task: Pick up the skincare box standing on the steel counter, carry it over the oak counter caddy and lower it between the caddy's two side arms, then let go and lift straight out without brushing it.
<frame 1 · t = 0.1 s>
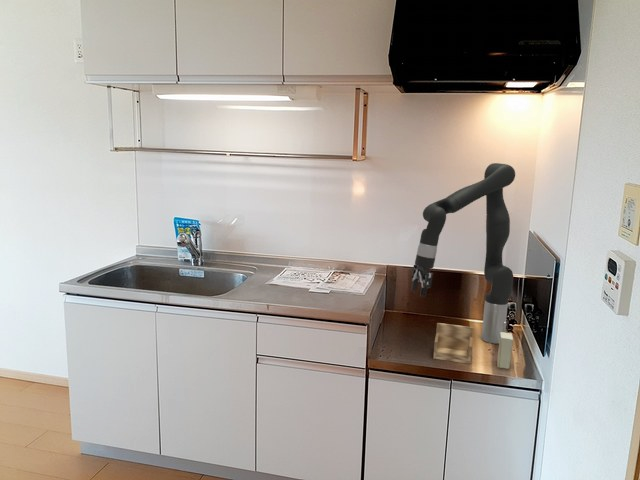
hand: (418, 293, 204), 22 cm above the worktop, tool pointing down, fingers open, 8 cm apart
caddy: (452, 355, 199), on the worktop
skincare box: (503, 365, 192), on the worktop
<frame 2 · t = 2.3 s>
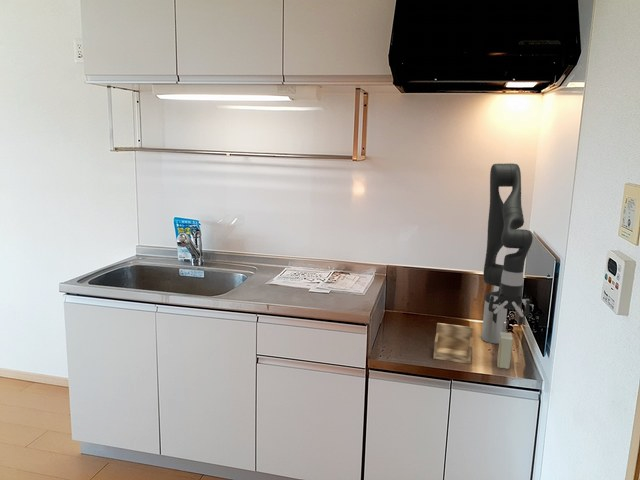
hand: (506, 323, 189), 17 cm above the worktop, tool pointing down, fingers open, 8 cm apart
nothing on the worktop moved.
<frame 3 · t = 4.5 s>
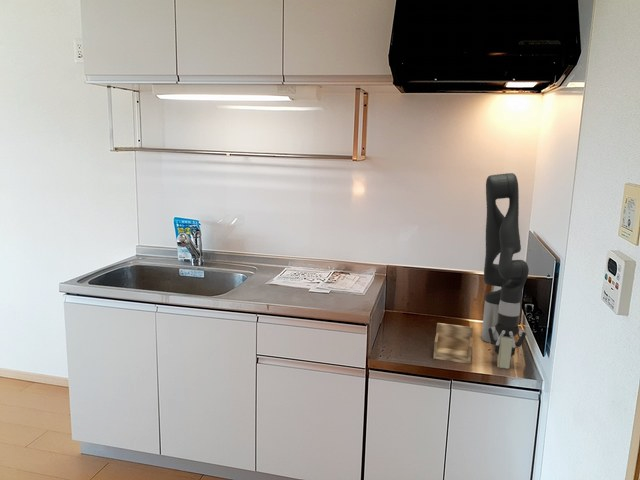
hand: (504, 354, 191), 4 cm above the worktop, tool pointing down, fingers closed on skincare box, 4 cm apart
skincare box: (503, 365, 192), on the worktop, touching gripper
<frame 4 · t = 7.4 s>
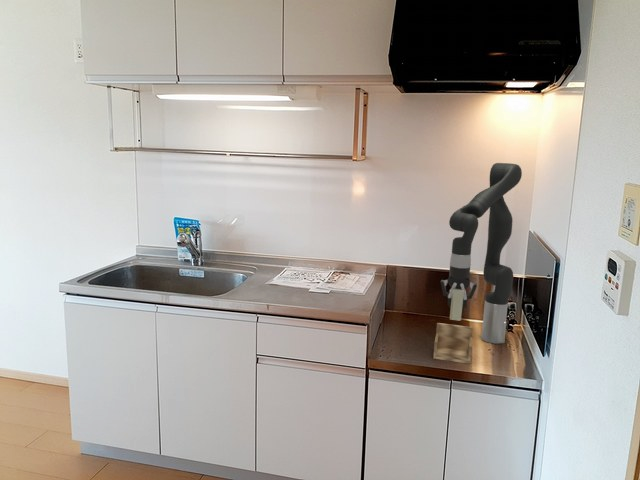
hand: (456, 307, 195), 20 cm above the worktop, tool pointing down, fingers closed on skincare box, 4 cm apart
skincare box: (455, 318, 196), point 16 cm above the worktop, touching gripper
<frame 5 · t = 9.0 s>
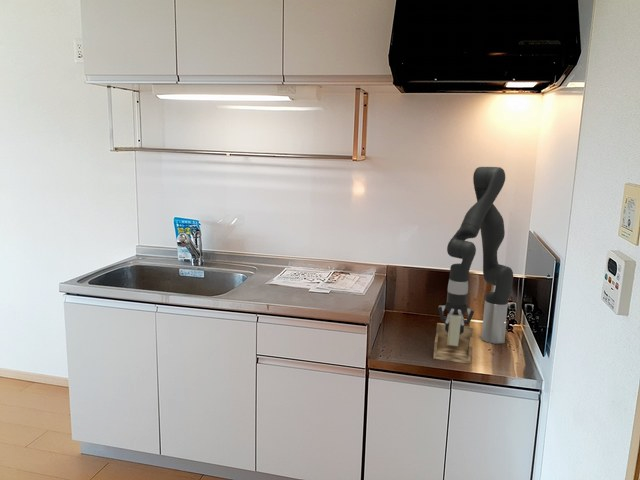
hand: (453, 332, 197), 10 cm above the worktop, tool pointing down, fingers closed on skincare box, 4 cm apart
skincare box: (453, 343, 198), point 5 cm above the worktop, touching gripper
when the fingers open (7 cm above the worktop, at t = 10.5 s): skincare box drops 1 cm, resting on caddy.
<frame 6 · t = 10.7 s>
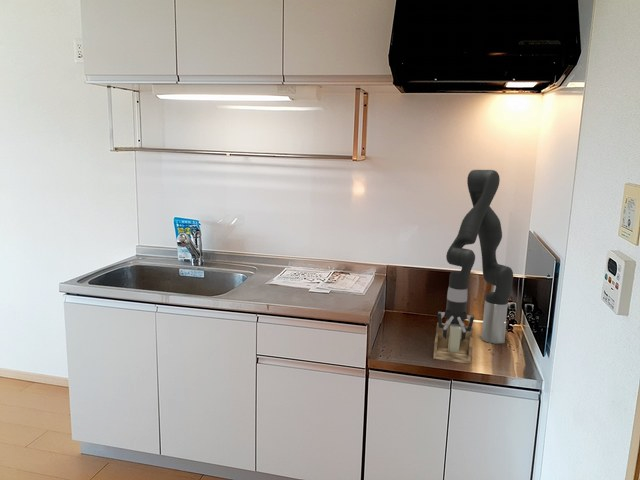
hand: (453, 339, 198), 7 cm above the worktop, tool pointing down, fingers open, 6 cm apart
skincare box: (453, 354, 199), point 1 cm above the worktop, touching caddy
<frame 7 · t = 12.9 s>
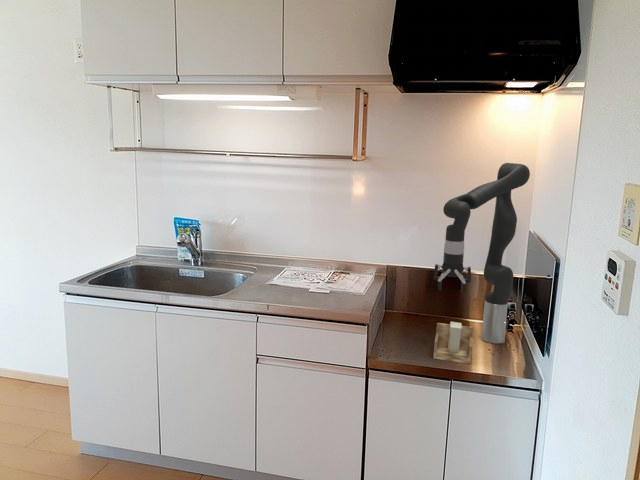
hand: (451, 291, 200), 25 cm above the worktop, tool pointing down, fingers open, 8 cm apart
nothing on the worktop moved.
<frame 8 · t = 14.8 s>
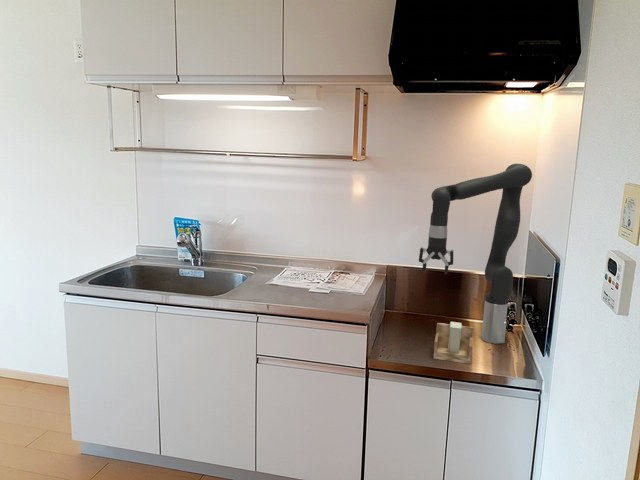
hand: (435, 272, 214), 28 cm above the worktop, tool pointing down, fingers open, 8 cm apart
nothing on the worktop moved.
at the end: skincare box inside the target area on the caddy (0.3 cm from its centre), point 0.8 cm above the caddy's base; skincare box tilted 0°; the gripper is holding nothing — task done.
